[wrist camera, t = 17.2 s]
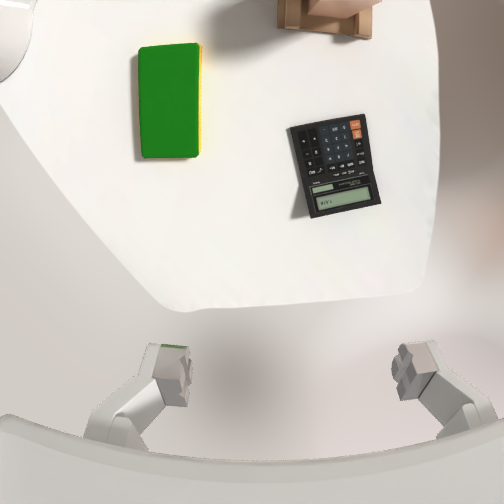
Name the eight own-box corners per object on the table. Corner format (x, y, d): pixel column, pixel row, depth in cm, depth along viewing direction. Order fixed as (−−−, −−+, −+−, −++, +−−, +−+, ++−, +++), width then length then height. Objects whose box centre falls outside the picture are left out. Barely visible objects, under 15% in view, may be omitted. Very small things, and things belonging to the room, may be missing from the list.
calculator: (362, 113, 35) (370, 117, 33) (374, 197, 41) (381, 206, 39) (289, 127, 37) (292, 131, 34) (308, 211, 43) (311, 221, 40)
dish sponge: (147, 153, 39) (141, 158, 37) (144, 48, 31) (138, 47, 29) (201, 152, 39) (198, 157, 37) (202, 44, 31) (199, 42, 29)
